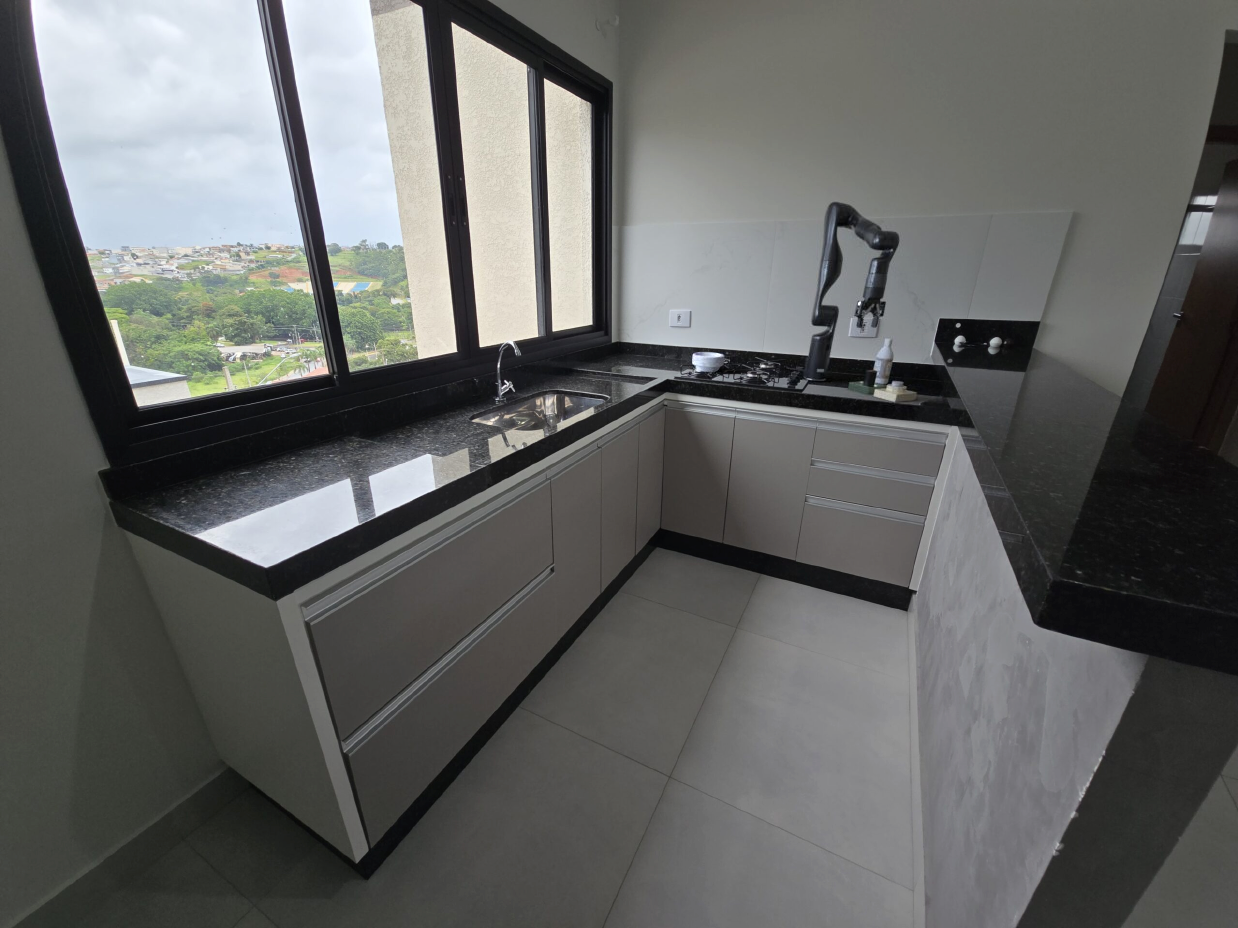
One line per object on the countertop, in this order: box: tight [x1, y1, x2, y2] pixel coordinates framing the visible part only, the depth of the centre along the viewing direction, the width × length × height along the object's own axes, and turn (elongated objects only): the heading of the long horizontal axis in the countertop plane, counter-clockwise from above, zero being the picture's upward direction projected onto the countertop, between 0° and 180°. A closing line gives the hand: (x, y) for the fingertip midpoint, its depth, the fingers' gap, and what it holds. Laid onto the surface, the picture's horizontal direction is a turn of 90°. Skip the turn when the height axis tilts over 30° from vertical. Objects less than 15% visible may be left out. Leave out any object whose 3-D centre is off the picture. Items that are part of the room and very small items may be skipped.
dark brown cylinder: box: [863, 369, 877, 385], centre depth 214 cm, size 4×4×6 cm
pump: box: [891, 380, 904, 387], centre depth 204 cm, size 4×4×2 cm
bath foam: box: [873, 337, 895, 385], centre depth 231 cm, size 7×7×20 cm
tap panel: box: [847, 380, 888, 395], centre depth 216 cm, size 10×12×3 cm
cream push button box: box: [873, 383, 918, 403], centre depth 205 cm, size 10×12×5 cm
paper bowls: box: [692, 351, 726, 373], centre depth 245 cm, size 15×15×8 cm
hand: (866, 327), depth 207 cm, fingers open, 8 cm apart
